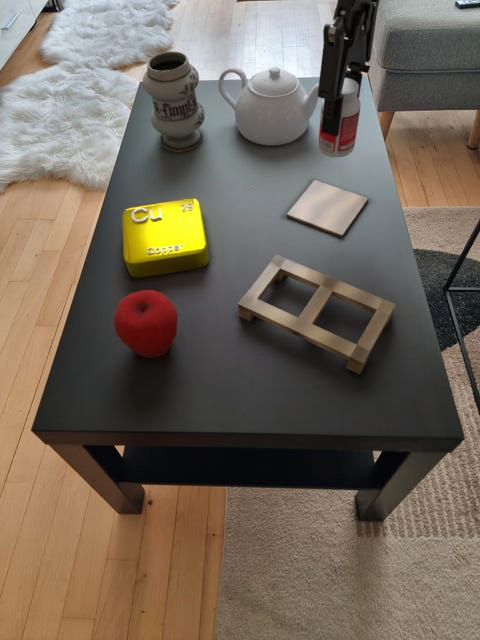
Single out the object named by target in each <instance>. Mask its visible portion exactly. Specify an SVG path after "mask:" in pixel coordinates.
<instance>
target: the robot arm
mask: <svg viewBox="0 0 480 640" xmlns="http://www.w3.org/2000/svg"><path fill="white" fill-rule="evenodd" d="M380 1H381V0H337V1H336V6H335V9H334V12H333V17H332V18H333V19H332V20H333V22H332V24H331V23H325V24H324V26H323V29H322V35H323V39H322V40H323V44H322V45H323V46H322V53H321V64H320V71H319V72H320V73H319V80H318V83H319V88H318V98H320V99H322V100H323V99H324V109H323V119H322V130H321V132H322V133H325V134H329V135H332V136H335V137H337V136H338V135H339V127H340V120H341V112H342V104H343V96H344V95H341V92H342V88H343V84H344V79H345V78H349V79H353V80H355V81H356V82H357V83H358V85H359V89H358V95H357V97H358V98H359V99H360V93H361V87H362V81H363V73H365V74H369V72H370V70H371V69H370V68H371V65H368V64H367V63H369V62H370V61H371V59H372V51H373V44H374V38H375V37H374V36H375V30H376V22H377V15H378V10H379V9H378V8H379V4H380Z"/></svg>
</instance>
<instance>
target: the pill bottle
mask: <svg viewBox="0 0 480 640" xmlns="http://www.w3.org/2000/svg"><path fill="white" fill-rule="evenodd" d="M358 89H359V85H358V83H357V82H356V81H355V80H353V79H349V78H345V79H344V84H343V88H342V92H341V95H344V96H343V104H342V112H341V120H340V127H339V135H338V136H337V137H335V136H332V135H329V134H325V133H322V132H321V130H322V119H323V109H324V99H323V98H322V102H321V107H320V116H319V117H320V119H319V128H318V130H319V131H318V140H317V141H318V142H317V143H318V144H317V147H318V150H319V152H320V153H321V154H323V155H324V156H327V157H329V158H344V157H347V156H348V155H350V154H351V153H352V152H353V151H354V149H355V147H356V140H357V134H358V133H357V131H358V126H359V121H360V120H359V119H360V112H361V104H362V103H361V100H360V97H359V98H358V97H357V95H358Z"/></svg>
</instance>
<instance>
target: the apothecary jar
mask: <svg viewBox="0 0 480 640" xmlns="http://www.w3.org/2000/svg"><path fill="white" fill-rule="evenodd" d="M189 61H190V60H189V58H188V56H187V55H186V54H185V53H183V52H181V51H172V50H170V51H161V52H159V53H156V54H155V55H152V56H151V57H150V58H149V59H148V61H147V63H146V68H147V69H146V71H145V72H144V74H143V77H142V86H143V89H144V90H145V92H146V93H147V94H148V95H149V96H150V97H151V100H152V105H153V110H152V112H151V114H150V122H151V125H152V127H153V128H154V129H155V131H156V132H158V133H159V134H161V136H160V139H161V142H160V144H161V146H162V147H163V148H164V149H165V150H168V151H171V152H174V153H175V152H176V153H181V152H187V151H190V150H192V149H195V148H196V147H198V146H199V145H200V144H201V143H202V142H203V138H204V137H203V133H202V131H201V130H200V129H199V128H201V126H202V125H203V123H204V122H205V117H206V116H205V114H206V113H205V110H204V109H205V108H204V107H203V105H201V104H200V102H199V101H198V100H197V94H196V88H197V86H198V84H199V82H200V76H199V72H198V70H197V69H196V68H195V66H193V65H192V64H191V63H190V62H189Z"/></svg>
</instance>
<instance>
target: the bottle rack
mask: <svg viewBox="0 0 480 640" xmlns="http://www.w3.org/2000/svg"><path fill="white" fill-rule="evenodd" d="M284 276H286V277H289V278H291V279H293V280H296V281H298V282H301V283H303V284H305V285H308V286H310V287H312V288H314V289H317V290H316V291H315V292H314V294H313V295H312V297H311V298H310V300H309V301H308V303H307V304H306V305H305V307H304V309H303V310H302V312H301V313H300V314H299V316H296V315H294V314H292V313H290V312H287V311H285V310H284V309H283V310H282V309H280V308H278V307H276V306H274V305H272V304H270V303H267V302H265V301H263V300H261V299H262V298H263V296H264V295H265V294H266V293H267V291H268V290H269V288H270V287H271V286H272V284H273V283H274V282H275V281H277V282H281V281H282V280H283V278H284ZM332 297H336V298H337V299H340V300H342V301H345V302H347V303H349V304H351V305H354V306H356V307H359V308H360V309H363V310H366V311H367V312H370V313H373V316H372V317H371V319H370V321H369V323H368V324H367V326H366V328H365V329H364V331H363V332H362V335H361V336H360V338H359V340H358V342H357V343H354V342H352V341H350V340H348V339H345V338H343V337H341V336H339V335H337V334H335V333H332V332H330V331H328V330H326V329H324V328H321V327H320V326H318V325H315V323H316V321H317V320H318V318H319V317H320V315H321V314H322V312H323V311H324V309H325V308H326V306H327V305H328V303H329V302H330V300H331V298H332ZM237 305H238V317H240V318H242V319H244V320H246V321H248V322H251V321H252V320H253V318H254V317H256V318H259V319H261V320H262V321H265V322H267V323H269V324H270V325H273V326H276V327H277V328H279V329H282V330H284V331H286V332H288V333H290V334H292V335H294V336H296V337H298V338H300V339H301V340H302V339H303V340H304V341H306V342H308V343H311V344H313V345H315V346H317V347H319V348H322V349H323V350H325V351H328V352H330V353H332V354H334V355H336V356H338V357H340V358H341V359H345V360H347V366H346V369H348V370H350V371H351V372H354V373H356V374H358V375H361V373H362V372H363V370H364V368H365V366H366V364H367V362H368V359H369V356H370V354H371V352H372V350H373V348H374V347H375V345H376V344H377V341H378V339H379V338H380V336H381V334H382V332H383V330H384V329H385V328H387V326H388V325H389V323H390V321H391V319H392V318H393V314H394V311H395V309H396V306H397V304H396V303H393V302H391V301H389V300H386V299H384V298H381V297H379V296H376V295H374V294H372V293H370V292H367V291H365V290H362V289H360V288H357V287H355V286H353V285H350V284H348V283H346V282H343V281H341V280H338V279H336V278H334V277H331V276H329V275H327V274H324V273H321V272H319V271H317V270H315V269H312V268H310V267H307V266H305V265H302V264H300V263H298V262H296V261H293V260H290V259H288V258H285V257H283V256H281V255H279V254H275V256H274V257H273V258H272V260H271V261H270V262H269V264H267V266H266V267H265V269H264V270H263V272H261V274H260V275H259V276H258V277H257V279H256V280H255V282H254V283H253V284H252V285H251V287H250V288H249V289H248V290H247V292H246V293H245V294H244V295H243V297H242V298H241V300H240V301H239V302H238V303H237Z"/></svg>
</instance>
